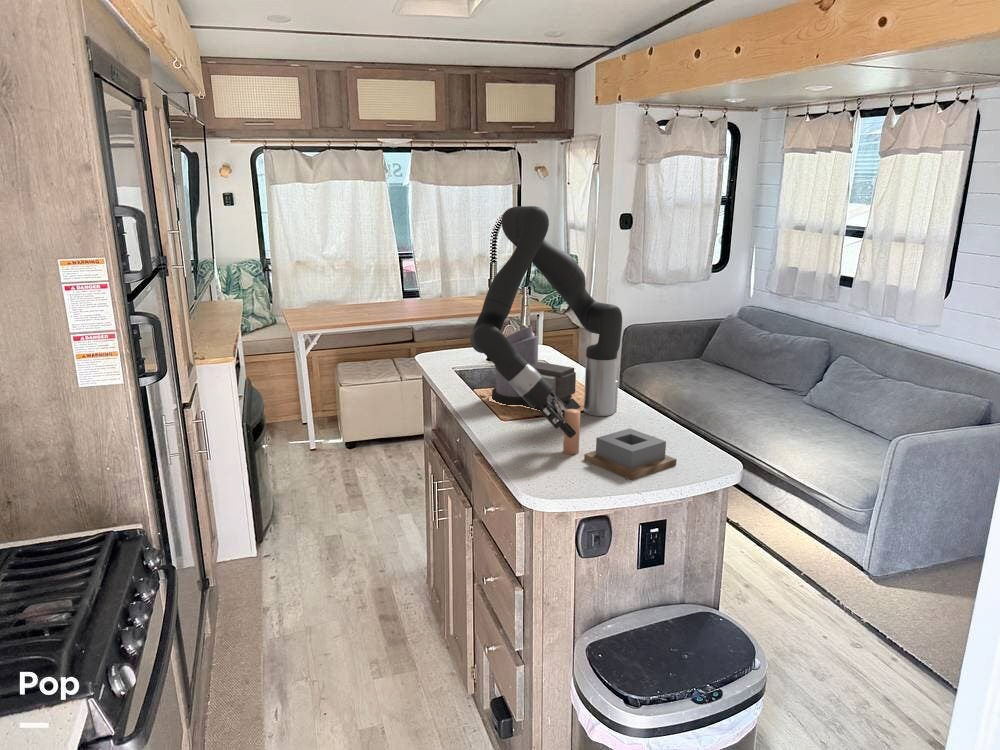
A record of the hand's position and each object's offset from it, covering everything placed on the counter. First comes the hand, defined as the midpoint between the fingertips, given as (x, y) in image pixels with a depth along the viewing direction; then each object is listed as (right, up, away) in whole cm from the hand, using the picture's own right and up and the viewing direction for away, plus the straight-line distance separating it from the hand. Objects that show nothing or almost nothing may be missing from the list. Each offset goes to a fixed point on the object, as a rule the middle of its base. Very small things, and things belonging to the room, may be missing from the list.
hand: (574, 430), depth 183 cm
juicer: (-9, +5, +44) cm, 45 cm away
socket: (+13, -6, -5) cm, 16 cm away
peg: (-1, -6, +2) cm, 6 cm away
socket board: (+13, -8, -5) cm, 16 cm away
